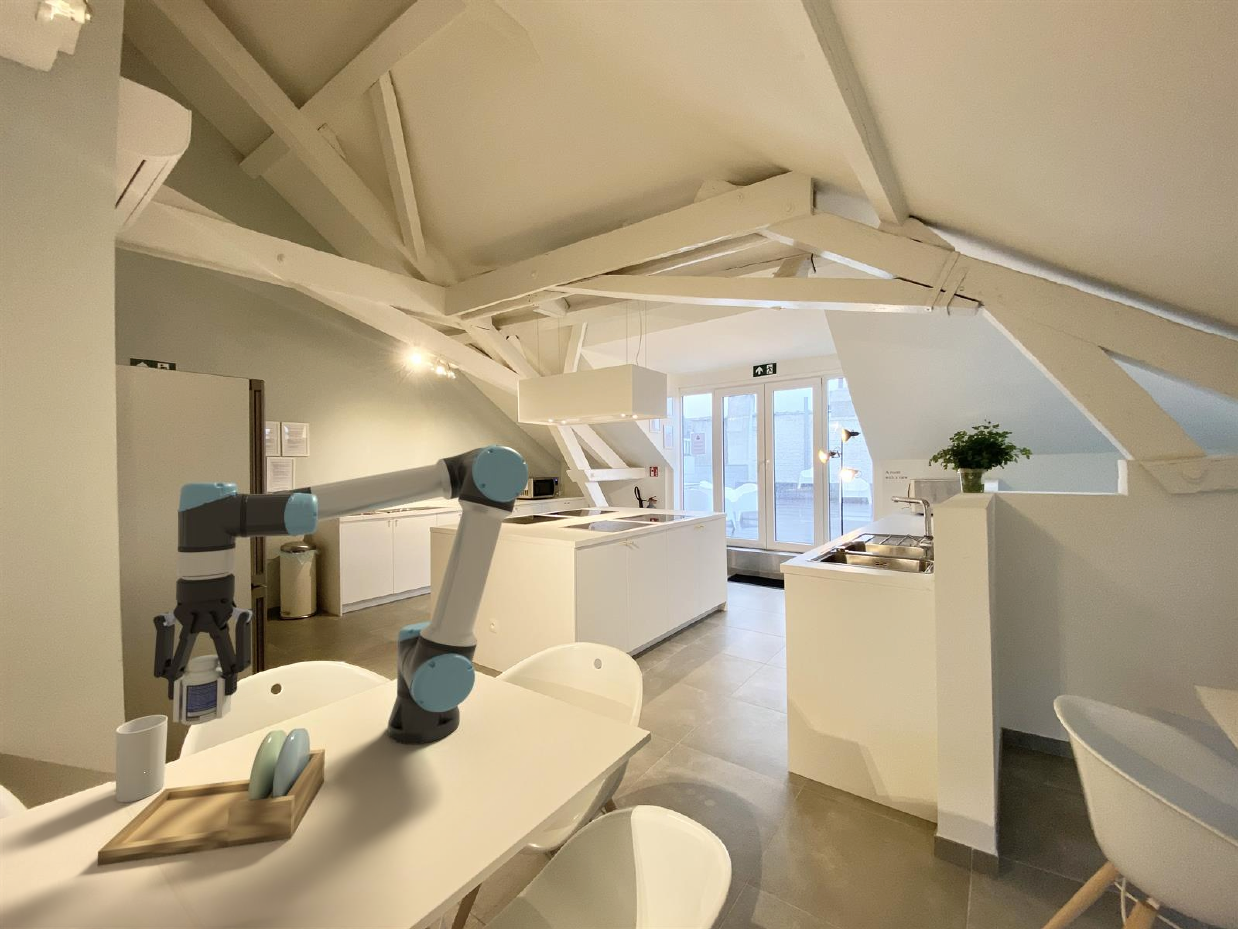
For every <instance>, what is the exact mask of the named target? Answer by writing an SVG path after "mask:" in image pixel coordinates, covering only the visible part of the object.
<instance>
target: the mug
mask: <svg viewBox="0 0 1238 929" xmlns="http://www.w3.org/2000/svg"><path fill="white" fill-rule="evenodd" d="M167 736H168V716H167V715H163V714H155V715H153V714H152V715H147V716H142V717H137V718H135V719H132V720H130V721H127V722H124V723H123V724H121V725H119V726H118V727H117V728H116V729H115V798H116V799H115V800H116V801H117V802H118V803H119V802H120V803H131V802H135V801H139V800H144V799H146V798H147V797H150V796H153V795H155V793H158V792H159V791H160V790H161V789H162V788H163V787H164V785H165V772H166V755H167V740H168V738H167ZM144 772H145V773H144Z"/></svg>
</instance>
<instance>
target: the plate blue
mask: <svg viewBox="0 0 1238 929" xmlns="http://www.w3.org/2000/svg"><path fill="white" fill-rule="evenodd" d="M310 750H311V742H310V735H309V732H308V730H307V729H306V727H305V728H304V727H301V728H293V729H292V730H291V731H290V732H289V733H288V734H287V737H286V739H285V741H284V743H283V745H282V748H281V751H280V753H279V757H278V760H277V764H276V769H275V774H274V782H273V798H275V797H283V796H287V794H288V793H289V791H290V790H291V788H292V787H293V785H294V784H295V782H296V781H297V779H298V778H299V777H300V775H301V774H302V772H303V771H304V769H305V768H306V766H307V765H308V763H309V756H310Z"/></svg>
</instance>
